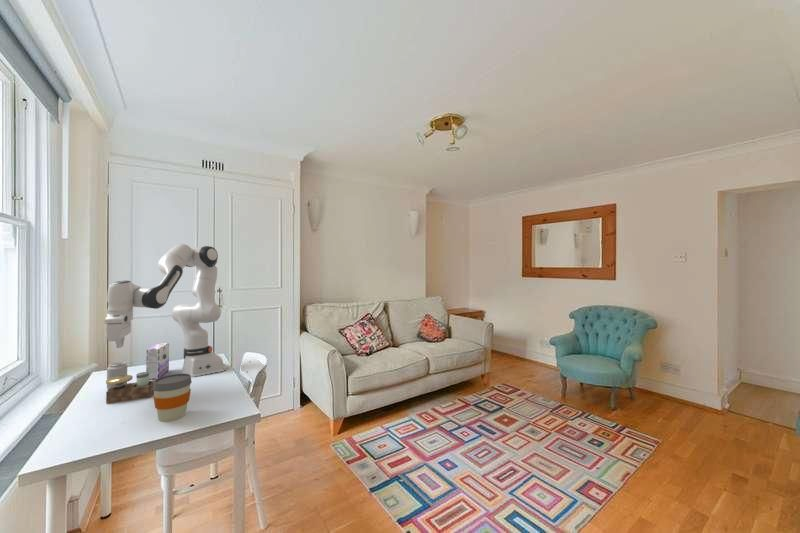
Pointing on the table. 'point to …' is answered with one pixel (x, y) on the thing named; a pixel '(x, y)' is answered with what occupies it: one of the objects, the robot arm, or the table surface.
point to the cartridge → (142, 379)
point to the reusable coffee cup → (171, 396)
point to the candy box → (157, 360)
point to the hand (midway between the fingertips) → (120, 347)
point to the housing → (129, 392)
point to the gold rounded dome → (119, 380)
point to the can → (116, 371)
